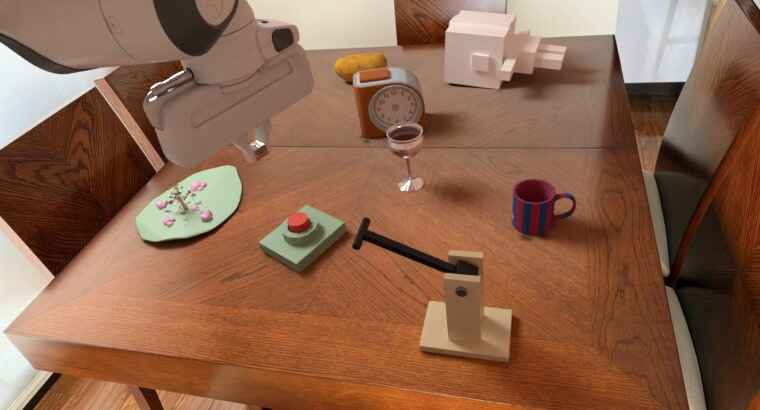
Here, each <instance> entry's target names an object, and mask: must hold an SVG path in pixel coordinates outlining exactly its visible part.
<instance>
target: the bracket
mask: <svg viewBox="0 0 760 410" xmlns="http://www.w3.org/2000/svg"><path fill="white" fill-rule="evenodd" d="M458 260H462V261H464V262H467V263H469V264H472V265H474V266H477V267H479V272H478V276H473V275H462V274H451V273H443V279H442V280H443V281H442V282H443V292H444V293H443V294H444V301H437V300H428V304H427V308H426V313H425V317H424V322H423V326H422V330H421V336H420V339H419V340H420V341H419V345H418V347H419V351H421V352H428V353H434V354H441V355H449V356H456V357H464V358H469V359H470V358H471V359H479V360H484V361H485V360H486V361H492V362H501V363H507V364H508V363H510V351H511V350H510V349H511V336H512V321H513V309H508V308H500V307H492V306H491V307H490V306H485V252H483V251H469V250H458V249H457V250H456V249H448V254H447V262H448V263H451V264H453V265H456V263H457V262H458Z"/></svg>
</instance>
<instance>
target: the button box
mask: <svg viewBox="0 0 760 410" xmlns="http://www.w3.org/2000/svg"><path fill="white" fill-rule="evenodd" d="M298 212H303V213H305V214H307V216H308V219H309V222H310V226H309V228H308V229H307V230H306V231H303V232H301V233H293V232H291V230H290V228H289V225H288V222H287V220H288V218H289V217H290V216H288V217H287V218H286V219H285V220H283V222H282V223H281V224H280V225H278V226H277V227H276V228H274V229H273V230H272V231H271V232H269V233H268V234H267V235H266V236H265V237H263V238H262V239H260V241H258V244H259V248H260V250H261V251H262V252H263V253H265V254H266V255H268V256H269V257H272V258H273V259H274V260H277V261H278V262H280V263H282V264H283V265H285V266H287V267H289V268H290V269H292V270H294V271H295V272H297V273H299V274H301V272H303V271H304V270H305V269H306V268H307V267H308V266H310V265H311V264H312V263H313V262H314V261H315V260H316V259H317V258H319V257H320V256H321V255H322V254H324V252H326V250H327V249H328V248H330V247H331V246H332V245H333V244H334V243H336V241H338V240H339V239H340V238H341V237H342V236H343V235H345V234H346V233H347V226H346V222H344V221H342V220H341V219H338V218H336V217H334V216H333V215H330V214H328V213H325V212H324V211H321V210H319V209H317V208H315V207H313V206H310V205H308V204H305V205H304V206H302V207H301V208H300V209H298V210H297V211H296V212H295V213H298Z"/></svg>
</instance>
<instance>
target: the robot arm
mask: <svg viewBox="0 0 760 410" xmlns="http://www.w3.org/2000/svg"><path fill="white" fill-rule="evenodd" d="M300 39H301V35H300V31H299V28H298V26H297V25H296V24H292V23H290V22H285V21H281V20H275V19H267V18H256V16H255V12H254V10H253V8H252V6H251V5H250V3H249V2H248V0H0V43H1V44H2V45H4V46H5V47H7V49H9V50H10V51H12V52H13V53H15V54H16V55H17V56H19V57H20V58H22V59H23V60H25V61H26V62H28V63H30V64H31V65H33V66H34V67H36V68H38V69H39V70H43V71H45V72H48V73H51V74H54V75H55V74H56V75H71V74H77V73H81V72H82V73H83V72H88V71H93V70H98V69H104V68H114V67H127V66H138V65H139V66H140V65H147V64H149V65H151V64H157V63H166V62H177V61H180V64H181V66H182V68H183V70H181V71H179V72H177V73H175V74H174V75H172V76H170V77H169V78H167V79H166V80H164V81H160V82H157V83H155V84H153V85H152V86H151V87H150V88H149V92H148V93H147V95H146V96H145V98H144V101H143V104H142V108H143V111H144V113H145V115H146V117H147V119H148V121H149V123H150V125H151V126H152V127H153V128H154V130H155V134H156V137H157V139H158V142H159V145H160V147H161V148H160V149H161V150H162V153H163V155H164V157H165V158H166V160H168V161H169V162H171V163H172V164H174V165H176V166H179V167H182V168H185V169H192V168H195V167H196V166H197V165H199V164H201V163H202V162H204V161H206V160H207V159H209V158H210V157H212V156H214V155H215V154H217V153H218V152H220V151H221V150H223V149H225V148H226V147H228V146H229V145H231V144H232V145H233V146H235V147H236V148H237V149H239V150H240V151H241V152H242V154H243V157H244V159H245V161H246V162H247V163H249V164H251V165H255V164H257V162H259V161H261V160H262V159H263V158H265V157H266V156H268V155H269V154H271V153H272V149H271V146H270V138H271V133H272V129H273V128H272V127H273V125H272V121H271V120H272V118H274V117H276V116H278V115H279V114H281V113H283V112H284V111H286V110H287V109H288V108H290V107H292V106H293V105H296V103H298V102H300V101H301V100H303V99H305V98H306V97H309V95H311V94H312V92H313V88H314V84H315V81H314V77H313V76H314V75H313V71H312V68H311V64H310V61H309V58H308V55H307V52H306V51H305V49H304V47H303V46H302V44H300V43H299V42H300ZM254 130H255V137H254V141H252V142H251V143H249V144H247V142H248V141H249V137H248V134H249V133H250V132H252V131H254Z"/></svg>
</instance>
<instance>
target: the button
mask: <svg viewBox="0 0 760 410" xmlns="http://www.w3.org/2000/svg"><path fill="white" fill-rule="evenodd" d="M288 217H289V218H288ZM288 217H287V218H288V220H287V222H288V225H289V228H290V230H291V232H293V233H301V232H303V231H306V230H307V229H308V228H309V226H310V222H309V219H308V216H307V214H305V213H303V212H298V213H296V212H294V213H292V214H291V215H289V216H288Z"/></svg>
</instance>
